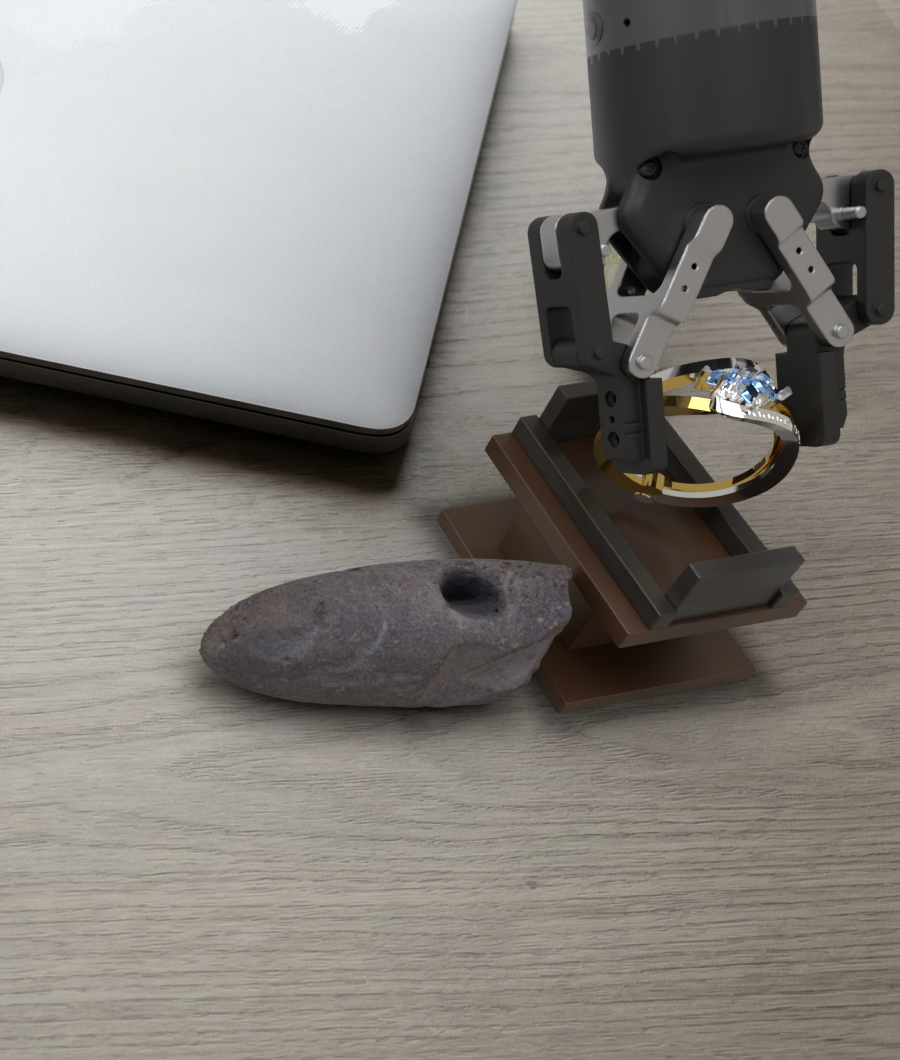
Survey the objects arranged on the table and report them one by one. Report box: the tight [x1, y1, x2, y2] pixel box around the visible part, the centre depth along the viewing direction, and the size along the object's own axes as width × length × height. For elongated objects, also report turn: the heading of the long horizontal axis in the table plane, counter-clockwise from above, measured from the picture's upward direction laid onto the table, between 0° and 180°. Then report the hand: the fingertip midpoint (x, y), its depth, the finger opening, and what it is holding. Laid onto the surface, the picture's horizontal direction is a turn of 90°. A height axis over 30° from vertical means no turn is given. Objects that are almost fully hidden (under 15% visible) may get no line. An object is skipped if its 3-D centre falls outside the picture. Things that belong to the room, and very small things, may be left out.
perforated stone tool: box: [198, 558, 573, 709], centre depth 71 cm, size 15×5×7 cm, turn 89°
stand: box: [435, 371, 808, 715], centre depth 73 cm, size 9×11×9 cm
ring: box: [593, 357, 800, 507], centre depth 68 cm, size 7×3×8 cm, turn 65°
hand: (726, 457), depth 67 cm, fingers open, 7 cm apart
